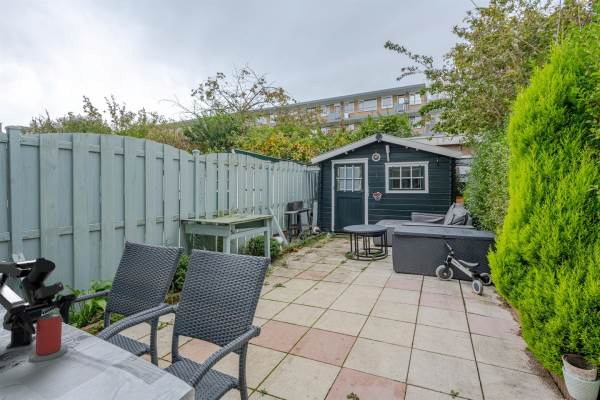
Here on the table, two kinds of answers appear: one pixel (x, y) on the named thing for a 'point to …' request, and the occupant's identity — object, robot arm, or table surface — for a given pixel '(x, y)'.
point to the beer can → (48, 334)
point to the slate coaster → (37, 358)
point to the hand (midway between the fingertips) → (51, 328)
